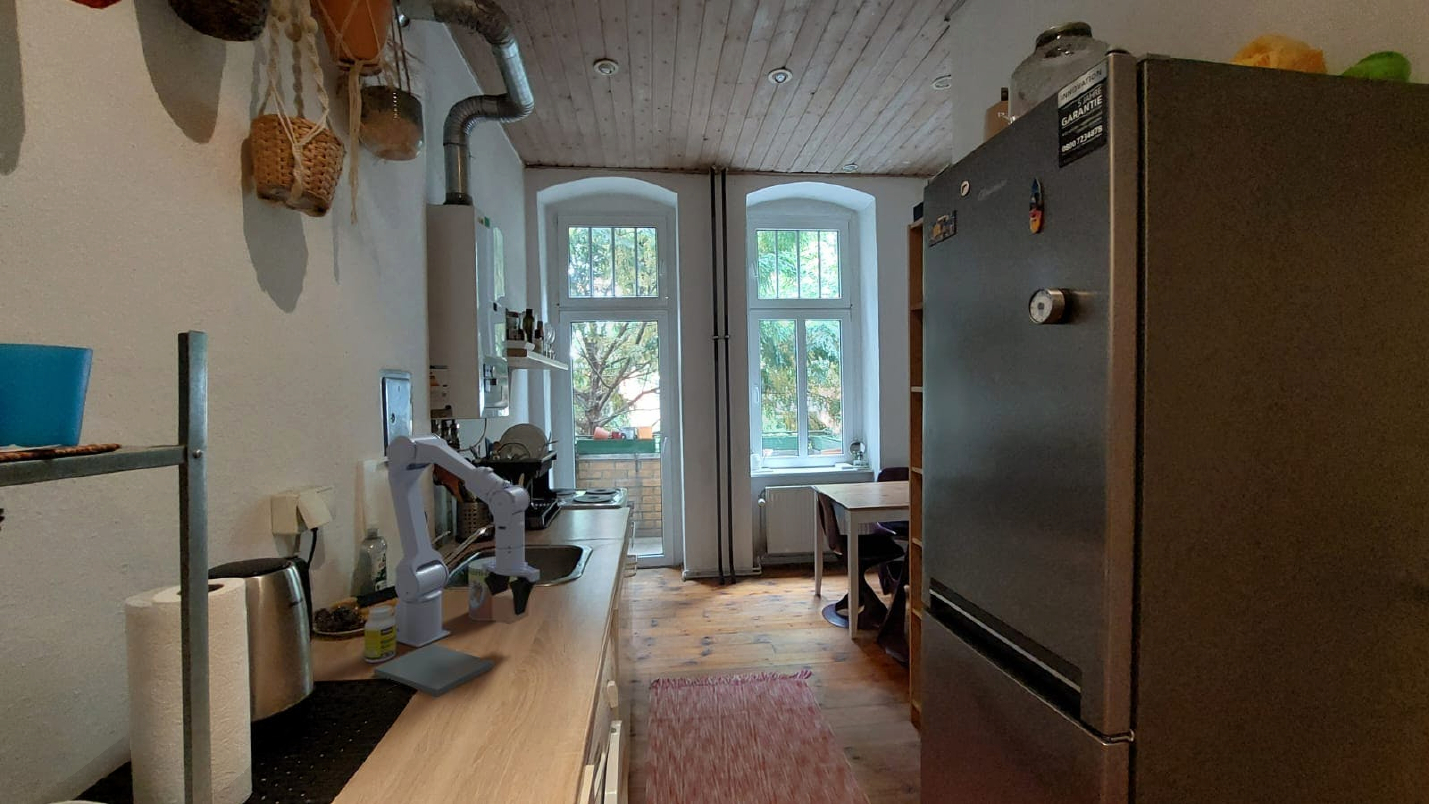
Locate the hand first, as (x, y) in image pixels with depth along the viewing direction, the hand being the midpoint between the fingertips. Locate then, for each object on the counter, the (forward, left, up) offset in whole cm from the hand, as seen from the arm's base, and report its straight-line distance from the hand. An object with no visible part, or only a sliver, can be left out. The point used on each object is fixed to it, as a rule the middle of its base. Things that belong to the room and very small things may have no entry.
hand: (510, 611), depth 118 cm
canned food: (-20, +13, -8) cm, 25 cm away
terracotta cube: (0, 0, -1) cm, 1 cm away
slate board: (-5, -14, -8) cm, 17 cm away
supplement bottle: (-20, -15, -8) cm, 26 cm away
